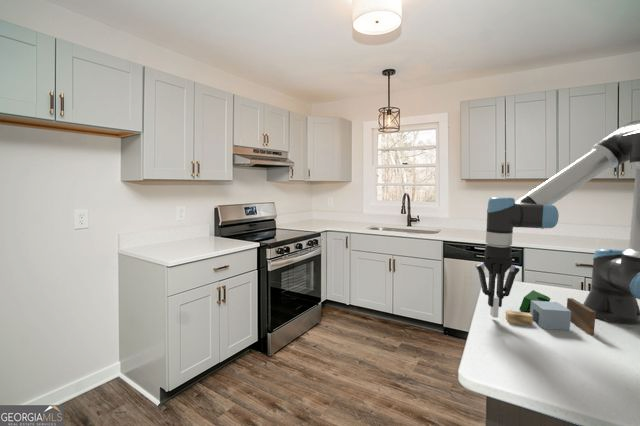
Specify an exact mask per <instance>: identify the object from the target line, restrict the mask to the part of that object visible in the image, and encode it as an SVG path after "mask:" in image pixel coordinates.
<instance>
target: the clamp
mask: <svg viewBox="0 0 640 426" xmlns="http://www.w3.org/2000/svg"><path fill="white" fill-rule="evenodd" d="M531 300H532V301H547V302H551V298H550V297H549V296H547V295H546V294H543V293H541V292H538V291H536V290H534V289H533V290H531V291H530V292H528V294H526V295H524V296H523V299H522V300H521V301H522V302H521V304H520V306H519V312H525V313H529V312H530V306H531Z"/></svg>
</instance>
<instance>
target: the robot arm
mask: <svg viewBox="0 0 640 426" xmlns="http://www.w3.org/2000/svg"><path fill="white" fill-rule="evenodd" d="M628 161H629V165H631V166H632V167H633V168H634V169H635V174H634V186H633V196H632V199H633V200H632V209H631V218H630V219H631V222H630V233H629V244H628V248H626V249H616V248H615V249H613V248H612V249H611V248H598V249H596V250H595V251H594V253H593V258H592V260H593V261H592V273H591V284H590V285H591V286H590V291H589V293H588V294H587V296H586V298H585V299H584V302H583V303H582V304H583V305H585V306H587V307H588V308H590V309H592V310H593V311H595V312H596V317H595V319H596V318H597V319H600V320H604V321H607V322H611V323H616V324H624V325H636V324H640V307H639V303H638V301H637V300H640V119H638V120H634V121H631V122H629V123H626V124H624V125H621V126H620V127H619V128H618V127H617V129H615V130H614V131H613V132H612V133H609V134H608V135H606V136H605V137H603V138H602V139H601V140H600V141H597V142H596V143H595V144H593V145H592V146H591V148H590V151H589V152H587V153H585V154H584V155H583V156H581V157H580V158H578V159H576V160H575V161H574V162H572V163H571V164H569V165H567V166H566V167H565V168H564V169H562V170H561V171H559V172H558V173H556V174H555V175H553V176H551V177H550V178H549V179H547V180H546V181H544V182H543V183H541V184H540V185H538V186H537V187H536V188H534V189H532V190H531V191H529V192H528V193H526V194H525V195H523V196H522V197H519V199H517V200H515V198H513V197H506V196H504V197H503V196H493V197H492V196H491V197H490V198H489V199H488V202H487V209H486V230H485V243H486V244H485V246H484V258H483V260H482V262H481V263H479V264H475V268H476V270H477V272H478V277H479V281H480V286H481V291H482V293H483V294H484V295H485V296H487V297H488V298H487V304H488V306H489V307H490V312H489V313H490V314H489V315H490V316H491V317H492V318H494V319H495V318H496V319H497V318H499V309H500V308H501V307H502V306H503V299H505V297H509V296H510V293H511V290H512V287H513V284H514V281H515V279H516V275H518V273H519V271H520V268H519V267H517V266H515V265H513V262H512V248H513V247H511V246H512V245H513V231H514V228H525V229H526V228H528V229H542V230H543V229H553V228H555V227H556V226H557V224H558V222H559V217H560V216H559V210H558V208H557V206H556V205H554V204H555V203H557V202H558V201H560V200H562V199H563V198H564V197H566V196H568V195H569V194H571V193H572V192H575V190H577V189H579V188H580V187H581V186H583V185H584V184H587V183H588V182H589V181H591V180H593V179H594V178H595V177H597V176H599V175H601V174H602V173H603V172H605V171H606V170H608V169H614V168H617V167H619V166H620V165H622V164H623V163H626V162H628ZM485 268H486V269H487V271H488V283H487V279H486V272H484V270H486V269H485ZM508 270H509V271H508ZM507 271H508V272H507ZM506 273H507V276H506ZM505 277H506V279H505ZM496 278H497V279H496ZM495 290H496V291H495ZM495 292H496V295H495Z"/></svg>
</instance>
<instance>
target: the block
mask: <svg viewBox="0 0 640 426" xmlns="http://www.w3.org/2000/svg"><path fill="white" fill-rule="evenodd" d="M529 313H530V314H531V315H532V316H533V321H537V322H538V323H537V325H538V326H539V328H540V329H548V330H550V329H551V330H562V331H570V329H571V322H570V321H571V311H570V310H569V309H567V307H566V306H564V305H563V304H560V303H559V302H557V301H549V302H547V301H532V300H531V306H530V310H529Z"/></svg>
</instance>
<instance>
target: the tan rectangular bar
mask: <svg viewBox="0 0 640 426" xmlns="http://www.w3.org/2000/svg"><path fill="white" fill-rule="evenodd" d="M504 318H505V320H506V322H507V323H513V324H520V325H530V326H533V321H534V320H533V316H532V315H531V314H530V312H527V313H525V312H522V311H515V310H514V311H513V310H505V317H504Z"/></svg>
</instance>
